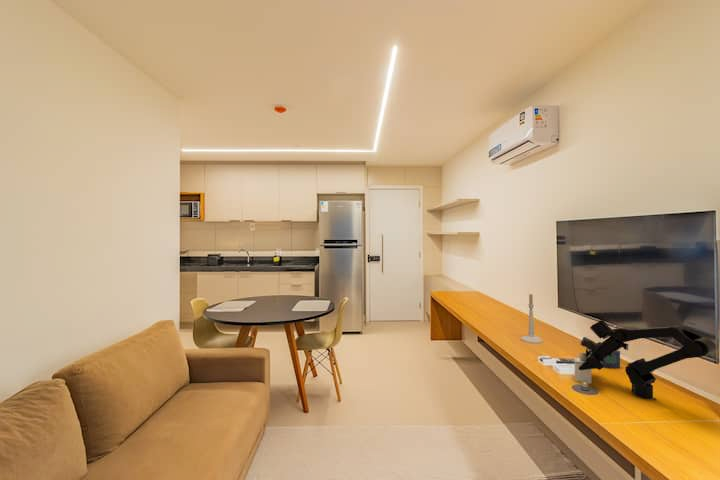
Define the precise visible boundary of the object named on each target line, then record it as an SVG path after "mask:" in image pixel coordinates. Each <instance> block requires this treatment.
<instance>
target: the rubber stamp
mask: <svg viewBox="0 0 720 480" xmlns="http://www.w3.org/2000/svg"><path fill="white" fill-rule="evenodd" d="M585 361H586V352H579V353H578V356H574V381H575V382H579V383H582V381H586V382H588V384H589V385H590V384H592V369H587V370H579V367H580V366H581V365H582V364H583V363H584V362H585Z"/></svg>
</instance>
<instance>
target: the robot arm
mask: <svg viewBox="0 0 720 480" xmlns="http://www.w3.org/2000/svg"><path fill="white" fill-rule="evenodd" d="M589 329H590V330H591V331H592V332H593V333H594V335H596V336H597V337H598V339H600V340H601V339H603V341H599V342H595V341H594V340H592V339H589V338H588V337H587V336H583V338H582V339H581V341H580V345H581V346H582V347H584V348H585V354H586V361H585V362H584V363H583V364H582V365H581V366H580V367H579V370H587V369H591V370H595V369H596V370H598V371H601V370H602V369H603V361H604V359H605V358H607V357H608V356H610V357H611V356H612V354H613V353H614V352H616V351H617V350H620V349H621V348H623V349H624V350H625V351H629V343H626V342H631V341H635V340H639V339H640V340H641V339H654V338H673V339H675V340H676V341H677V342H678V343H679V344H680V345H681V347H680V348H679V349H677V350H674V351H672V352H669V353H665V354H663V355H660V356H659V357H658V356H657V357H655V358H652V359H650V360H646V359H645V358H639V359H636V360H634V361H632V362H628V363H627V365H626V366H625V374H626V376H628V380H629V383H631V392H632V394H633V395H635V396H636V397H638V398H641V399H645V400H654V401H657V398H656V397H654V385H652V384H654V383H655V382H656V381H657V378H656V377H655V376H654V375H653V372H655V371H656V370H658V369H661V368H664V367H666V366H669V365H673V364H675V363H678V362H681V361H683V360H686V359H695V358H701V357H705V356H708V355H710V354H713V353H715V352H716V351H717V350H716V349H717V346H716V343H715V342H714V341H713V340H711V339H710V338H707V337H703V336H701V335H699V334H698V333H695V332H693V331H692V330H691V331H690V330H688V329H685V327H684V326H683V327H682V326H681V325H673V326H662V327H661V326H660V327H659V326H658V327H657V326H656V327H647V328H646V327H645V328H644V327H643V328H639V327H635V326H624V327H620V328H614V329H613V328H611V327H610V326H609V324H607V322H606V321H605V320H604V319H602V320H601V319H600V320H599V321H598V322H596V323H594V324H591V326H590V327H589ZM715 350H716V351H715Z"/></svg>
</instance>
